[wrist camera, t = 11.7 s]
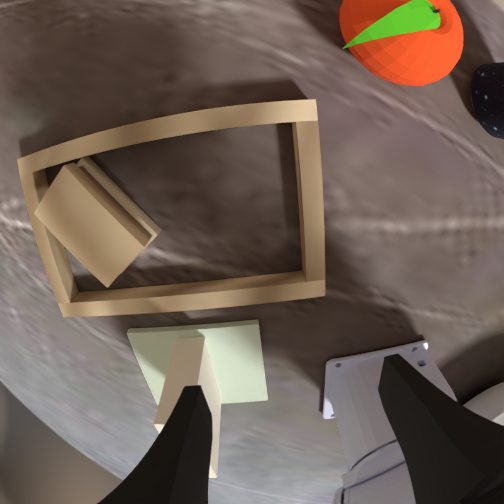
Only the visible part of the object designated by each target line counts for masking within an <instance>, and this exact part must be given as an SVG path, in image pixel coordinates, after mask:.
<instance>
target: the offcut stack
mask: <svg viewBox="0 0 504 504" xmlns="http://www.w3.org/2000/svg"><path fill="white" fill-rule="evenodd" d="M34 214H35V215H36V216H37V217H38V219H39V220H40V221H41V222H42V223H43V224H44V225H45V226H46V227H47V228H48V229H49V231H50V232H51V233H52V234H53V235H54V236H55V237H56V238H57V239H58V240H59V241H60V242H61V243H62V244H63V245H64V246H65V247H66V248H67V249H68V250H69V251H70V252H71V253H72V254H73V255H74V256H75V257H76V258H77V259H78V260H79V261H80V262H81V263H82V264H83V265H84V266H85V267H86V268H87V269H88V270H89V271H90V272H91V273H92V274H93V275H94V276H95V277H96V278H97V279H98V280H99V281H101V282H102V283H103V284H104V285H105V286H106V287H107V288H108V287H109V286H110V284H111V283H112V282H113V281H114V280H115V279H116V278H117V277H118V275H119V274H122V273H123V272H124V271H125V269H126V268H127V267H128V266H129V265H130V264H131V263H132V262H133V261H134V260H135V259H136V257H137V256H138V255H139V254H140V253H141V252H142V251H143V250H144V249H145V248H146V247H147V246H148V245H149V244H150V243H151V242H152V240H153V239H154V238H155V237H156V236H157V235H158V234H159V233H160V231H161V230H162V229H161V228H160V227H158V226H157V225H156V224H155V223H154V222H153V221H152V220H151V219H150V218H149V217H148V216H147V215H146V214H145V213H144V212H143V211H142V210H141V209H140V208H139V207H138V206H137V205H136V204H135V203H134V202H133V201H132V200H131V199H130V198H129V197H128V196H127V195H126V194H125V193H124V192H123V191H122V190H121V189H120V188H119V187H118V186H117V185H116V184H115V183H114V182H113V181H112V180H111V179H110V178H109V177H108V176H107V175H106V174H105V173H104V172H103V171H102V170H101V169H100V168H99V167H98V166H97V165H96V164H95V163H94V162H93V160H92V159H91V158H90V157H89V156H87V157H83V158H81V159H80V160H79V162H78V163H77V164H75V163H71V164H67V165H64V166H63V168H62V169H61V171H60V172H59V173H58V175H57V177H56V178H55V180H54V181H53V183H52V184H51V186H50V187H49V189H48V191H47V192H46V194H45V195H44V197H43V199H42V200H41V202H40V204H39V205H38V207H37V209H36V210H35V212H34Z"/></svg>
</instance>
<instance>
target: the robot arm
mask: <svg viewBox="0 0 504 504" xmlns="http://www.w3.org/2000/svg"><path fill="white" fill-rule="evenodd" d="M427 348H428V343H427V341H425V340H423V341H419V342H415V343H411V344H406V345H402V346H398V347H393V348H389V349H384V350H379V351H374V352H369V353H364V354H359V355H353V356H348V357H342V358H336V359H331V360H329V361H327V362H326V369H325V387H324V401H323V414H322V415H323V418H324V419H330V418H335V420H336V424H337V428H338V432H339V435H340V439H341V443H342V447H343V451H344V455H345V459H346V462H347V466H348V470H349V472H347V473H346V474H343V475H342V479H343V484H344V486H343V487H341V488H339V489H338V490H337V491H336V493H335V496H334V499H333V501H332V504H504V426H503V425H500V424H498V423H495V422H493V421H491V420H489V419H487V418H485V417H482V416H480V415H478V414H476V413H475V412H473V411H471V410H469V409H468V408H466V407H464V406H463V405H461V404H460V403H458V402H457V399H456V397H455V394H454V393H453V391H452V389H451V387H450V386H449V384H448V383H447V381H446V380H445V378H444V376H443V375H442V373H441V372H440V370H439V369H438V367H437V366H436V364H435V363H434V361H433V360H432V358H431V357H430V355H429V354H428V352H427ZM337 363H339V364H337ZM212 439H213V430H212V414H211V411H210V409H209V406H208V403H207V401H206V398H205V395H204V393H203V390H202V387H201V385H193V386H185V387H184V388H183V390H182V392H181V395H180V397H179V399H178V401H177V403H176V405H175V407H174V409H173V411H172V413H171V415H170V416H169V418H168V420H167V422H166V423H165V425H164V427H163V429H162V430H161V432H160V434H159V435H158V437H157V438H156V440H155V442H154V443H153V445H152V446H151V448H150V449H149V450H148V452H147V453H146V455H145V456H144V457H143V459H142V460H141V461H140V462H139V464H138V465H137V466H136V467H135V468H134V470H133V471H132V472H131V473H130V474H129V475H128V476H127V477H126V478H125V479H124V481H123V482H122V483H121V484H120V485H119V486H117V488H115V489H114V490H113V491H112V492H111V493H110V494H109V495H107V496H106V497H105V498H104V499H103V500H101V501H100V502H99V503H97V504H208V480H209V469H210V460H211V450H212Z"/></svg>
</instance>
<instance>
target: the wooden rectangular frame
mask: <svg viewBox="0 0 504 504" xmlns="http://www.w3.org/2000/svg"><path fill="white" fill-rule="evenodd" d="M286 122H292V131H293V141H294V152H295V164H296V176H297V189H298V203H299V218H300V235H301V254H302V271H295V272H286V273H277V274H268V275H259V276H250V277H241V278H231V279H221V280H212V281H202V282H191V283H181V284H170V285H159V286H148V287H137V288H125V289H113V290H100V291H87V292H79V291H78V288H77V285H76V282H75V279H74V276H73V273H72V270H71V267H70V264H69V261H68V258H67V255H66V252H65V248H64V245H63V244H62V243H61V242H60V241H59V240H58V239H57V238H56V237H55V236H54V235H53V234H52V233H51V232H50V231H49V229H48V228H47V227H46V226H45V225H44V224H43V223H42V222H41V221H40V220H39V219H38V217H37V216H36V215H35V214H34V212H35V210H36V209H37V207H38V205H39V204H40V202H41V200H42V199H43V197H44V195H45V194H46V192H47V191H48V189H49V186H48V181H47V176H46V171H45V168H47V167H50V166H54V165H57V164H60V163H64V162H67V161H70V160H74V159H77V158H81V157H85V156H88V155H92V154H96V153H100V152H104V151H108V150H112V149H116V148H120V147H125V146H129V145H134V144H138V143H143V142H148V141H153V140H158V139H163V138H169V137H174V136H180V135H186V134H192V133H198V132H205V131H212V130H219V129H226V128H234V127H243V126H252V125H262V124H273V123H286ZM17 162H18V167H19V173H20V178H21V183H22V188H23V192H24V197H25V201H26V205H27V209H28V213H29V217H30V221H31V225H32V228H33V232H34V235H35V239H36V242H37V245H38V249H39V252H40V255H41V258H42V261H43V264H44V267H45V270H46V273H47V276H48V278H49V281H50V284H51V287H52V289H53V292H54V294H55V297H56V299H57V302H58V304H59V307H60V309H61V312H62V314H63V316H64V317H82V316H108V315H128V314H145V313H161V312H175V311H188V310H201V309H212V308H223V307H234V306H244V305H254V304H263V303H272V302H281V301H289V300H298V299H306V298H314V297H321V296H325V234H324V206H323V185H322V169H321V154H320V141H319V129H318V118H317V107H316V99H312V100H291V101H276V102H264V103H253V104H244V105H235V106H227V107H219V108H212V109H205V110H199V111H193V112H187V113H181V114H176V115H170V116H165V117H160V118H155V119H150V120H146V121H141V122H137V123H133V124H128V125H124V126H120V127H116V128H112V129H109V130H105V131H101V132H98V133H94V134H91V135H87V136H84V137H80V138H77V139H74V140H71V141H67V142H64V143H61V144H58V145H55V146H52V147H49V148H47V149H44V150H41V151H38V152H35V153H33V154H30V155H27V156H25V157H22V158H20V159H17Z"/></svg>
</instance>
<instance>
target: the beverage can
mask: <svg viewBox="0 0 504 504" xmlns="http://www.w3.org/2000/svg"><path fill="white" fill-rule="evenodd" d="M471 102H472V106H473V109H474V111H475V114H476V116H477V119H478V121H479V122H480V124H481V125H482V127H483V128H484V129H485V130H486V131H487V132H488V133H489V134H490V135H492V136H494V137H496V138H501V139H504V62H502V63H492V64H484V65H482V66H480V67H479V68H478V69H477V70H476V71H475V73H474V75H473V78H472V83H471Z"/></svg>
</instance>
